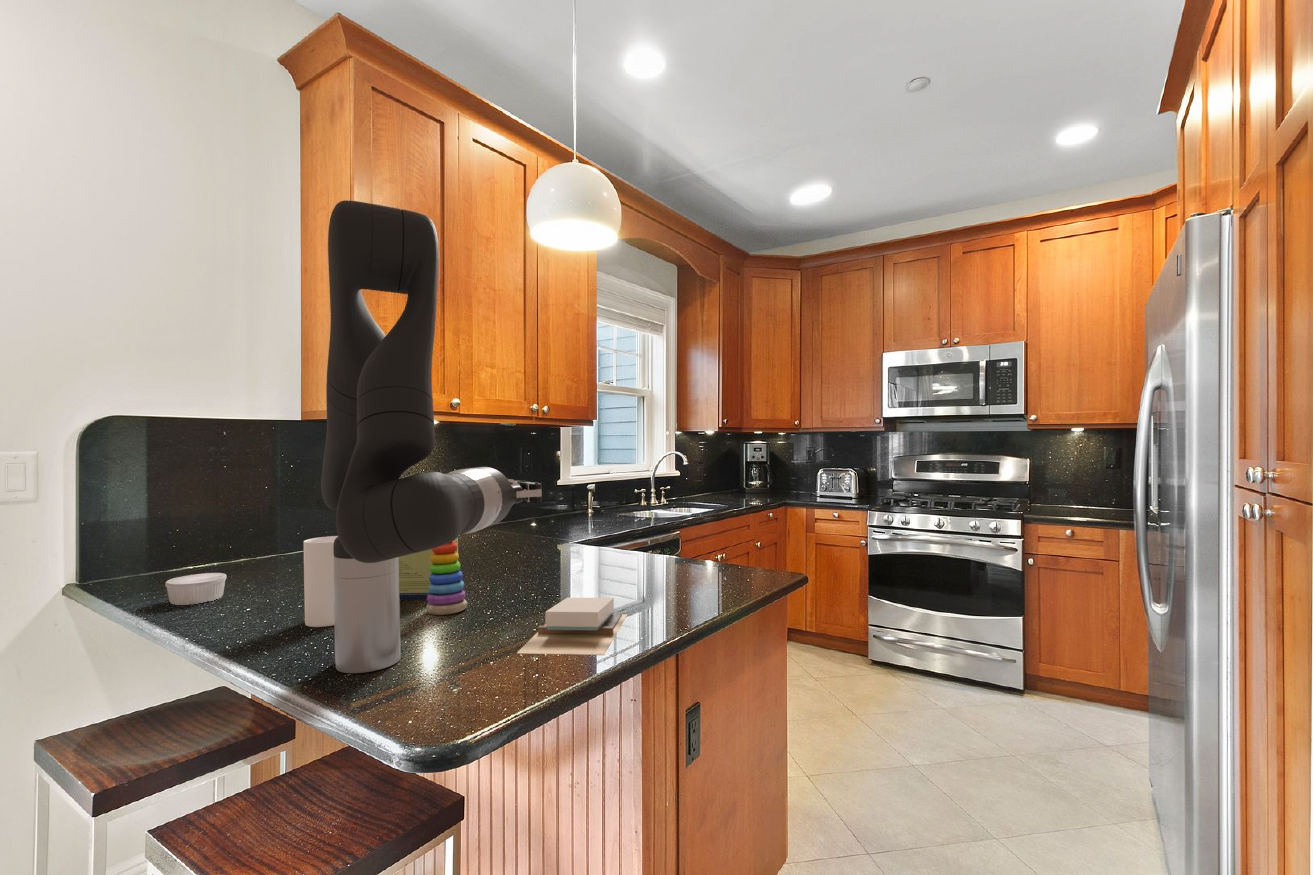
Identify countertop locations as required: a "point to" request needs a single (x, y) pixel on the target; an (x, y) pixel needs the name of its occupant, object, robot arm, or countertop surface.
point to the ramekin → (196, 588)
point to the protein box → (415, 574)
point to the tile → (579, 614)
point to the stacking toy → (445, 582)
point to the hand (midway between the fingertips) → (517, 487)
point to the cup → (319, 581)
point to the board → (574, 639)
